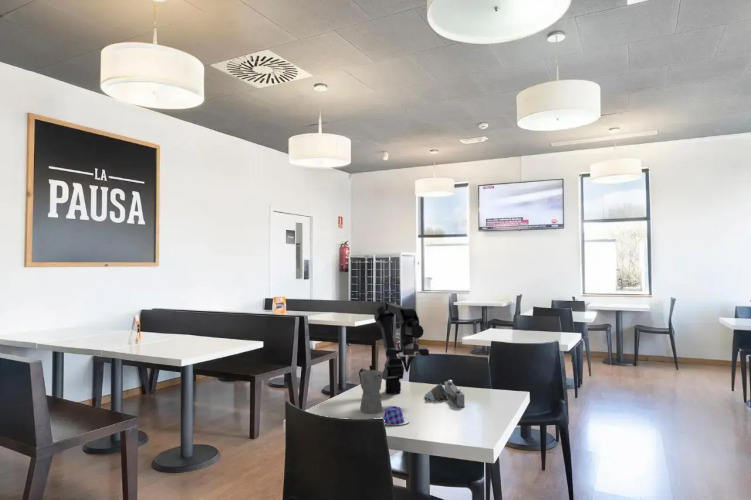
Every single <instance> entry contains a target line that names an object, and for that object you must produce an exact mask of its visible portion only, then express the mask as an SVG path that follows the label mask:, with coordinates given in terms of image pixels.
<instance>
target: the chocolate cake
mask: <svg viewBox="0 0 751 500" xmlns="http://www.w3.org/2000/svg"><path fill="white" fill-rule="evenodd" d="M446 394H447V393H446V392H445V387H443V383H442V382H441V383H439V384H438V385H436V386H435V387H433V388H431V390H429V391H428V392H426V393H425V395H424V398H425V400H429V401H431V402H437V401H440V400H445V401H446V400H448V396H447V395H446Z"/></svg>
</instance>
